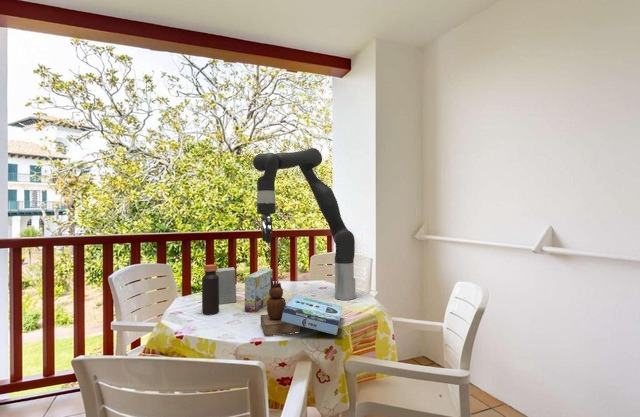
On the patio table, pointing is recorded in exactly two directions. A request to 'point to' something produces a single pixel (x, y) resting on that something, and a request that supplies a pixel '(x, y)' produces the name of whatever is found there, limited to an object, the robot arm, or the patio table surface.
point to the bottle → (210, 291)
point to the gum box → (312, 314)
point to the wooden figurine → (275, 301)
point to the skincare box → (227, 285)
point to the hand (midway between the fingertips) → (266, 241)
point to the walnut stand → (277, 326)
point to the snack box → (257, 289)
